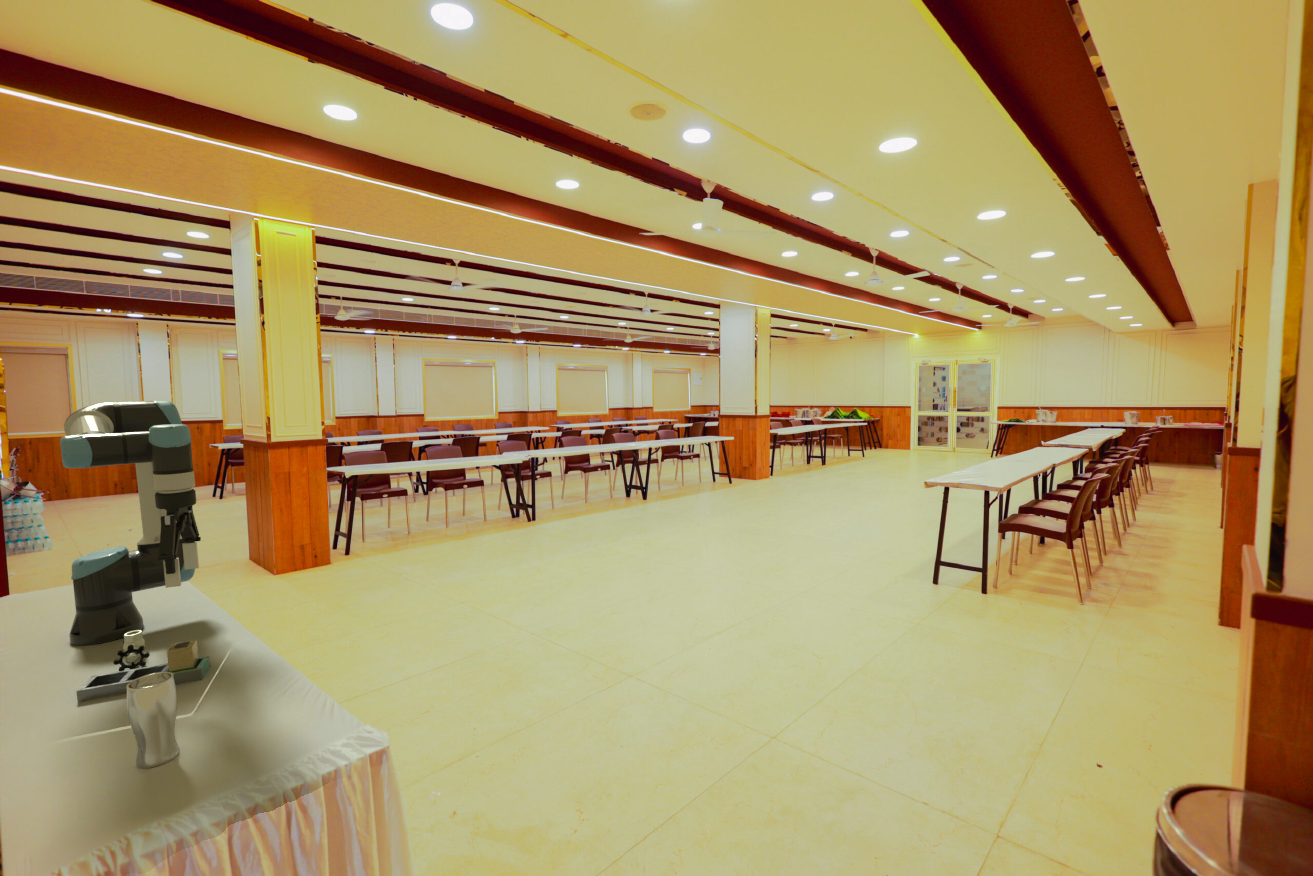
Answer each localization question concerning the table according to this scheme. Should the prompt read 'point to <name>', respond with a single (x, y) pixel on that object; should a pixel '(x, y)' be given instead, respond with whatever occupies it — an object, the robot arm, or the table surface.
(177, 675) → the divided tray
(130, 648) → the valve
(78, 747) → the table surface
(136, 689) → the beer glass
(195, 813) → the table surface
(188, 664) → the hollow square tube
